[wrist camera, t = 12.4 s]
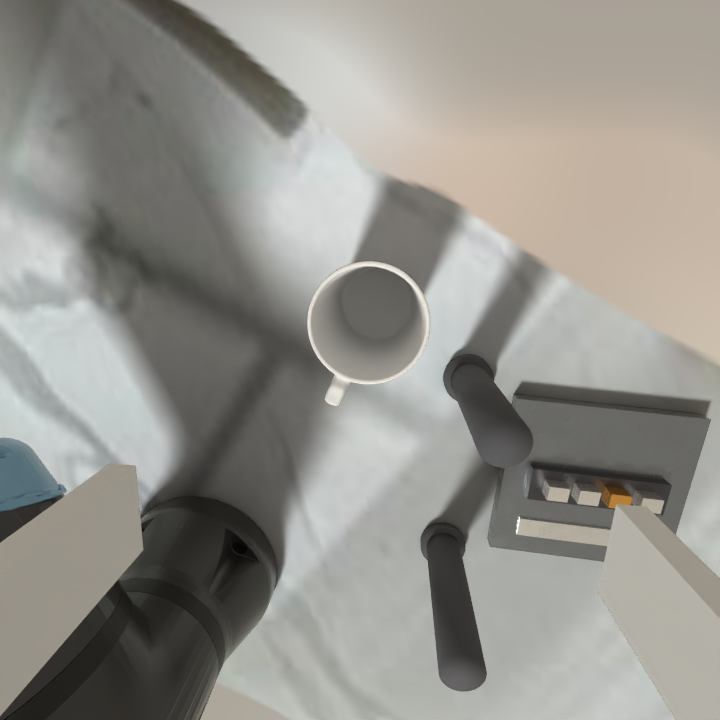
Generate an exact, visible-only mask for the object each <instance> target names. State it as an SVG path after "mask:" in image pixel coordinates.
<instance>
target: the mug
mask: <svg viewBox="0 0 720 720" xmlns="http://www.w3.org/2000/svg"><path fill="white" fill-rule="evenodd" d="M307 327H308V335H309V339H310V342H311V345H312V347H313V350H314V352H315V353H316V355H317V357H318V358H319V359H320V361H321V362H322V363H323V364H324V365H325V366H326V367H327V368H328V369H329V370H330V371H331V372H332V373H334V377H333V380H332V382H331V384H330V387H329V389H328V391H327V393H326V395H325V401H326V402H327V403H329V404H331V405H334V406H338V405H339V404H340V403H341V401H342V399H343V396H344V394H345V392H346V390H347V388H348V386H349V384H350V383H351V382H354V383H359V384H378V383H383V382H387V381H390V380H392V379H395V378H397V377H399V376H400V375H402V374H403V373H405V372H406V371H407V370H409V369H410V368H411V367H412V366H413V365H414V364H415V363H416V361H417V360H418V359H419V357H420V356H421V354H422V353H423V351H424V349H425V347H426V344H427V341H428V337H429V333H430V313H429V308H428V304H427V301H426V299H425V297H424V294H423V293H422V291H421V289H420V288H419V286H418V285H417V284H416V282H415V281H414V280H413V279H412V278H411V277H410V276H409V275H407V274H406V273H405V272H403V271H402V270H400V269H399V268H397V267H395V266H392V265H390V264H387V263H383V262H377V261H361V262H356V263H352V264H349V265H346V266H344V267H341V268H340V269H338V270H336V271H335V272H333V273H332V274H330V275H329V276H328V277H327V278H326V279H325V280H324V281H323V282H322V283H321V285H320V286H319V287H318V289H317V290H316V292H315V294H314V296H313V298H312V300H311V303H310V306H309V311H308V318H307Z"/></svg>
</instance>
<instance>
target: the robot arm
mask: <svg viewBox="0 0 720 720" xmlns="http://www.w3.org/2000/svg"><path fill="white" fill-rule="evenodd" d="M66 491H67V490H66V489H65V487H64V486H63V485H61V484H58V483H57V482H56V481H55V479H54V478H53V476H52V475H51V474H50V472H49V471H48V470H47V468H46V467H45V466H44V464H43V463H42V461H41V460H40V459H39V457H38V456H37V455H36V453H35V452H34V451H33V449H32V448H31V447H30V446H28V445H27V444H25V443H23V442H21V441H19V440H16V439H11V438H0V720H200V718H201V716H202V714H203V711H204V709H205V706H206V704H207V701H208V699H209V697H210V694H211V692H212V689H213V687H214V684H215V682H216V679H217V677H218V675H219V672H220V670H221V668H222V666H223V663H224V662H225V660H226V659H227V658H228V657H229V656H230V655H231V654H232V652H233V651H234V650H235V649H236V648H237V647H238V645H239V644H240V643H241V642H242V641H243V640H244V639H245V637H246V636H247V635H248V634H249V633H250V632H251V630H252V629H253V628H254V627H255V626H256V625H257V624H258V622H259V621H260V620H261V618H262V617H263V615H264V613H265V611H266V609H267V607H268V605H269V602H270V599H271V597H272V594H273V591H274V588H275V585H276V579H277V566H276V560H275V556H274V553H273V550H272V548H271V545H270V543H269V541H268V540H267V538H266V536H265V535H264V534H263V532H262V531H261V530H260V528H259V527H258V526H257V525H256V524H255V523H254V522H253V521H252V520H251V519H250V518H248V517H247V516H246V515H244V514H243V513H242V512H240V511H238V510H237V509H235V508H233V507H231V506H229V505H227V504H225V503H222V502H220V501H216V500H213V499H208V498H202V497H181V498H176V499H172V500H168V501H166V502H163V503H161V504H159V505H157V506H155V507H154V508H152V509H151V510H150V511H149V512H147V513H146V514H145V515H144V516H143V517H142V518H141V519H140V508H139V497H138V487H137V476H136V466H131V465H119V464H109V465H107V466H106V467H105V468H103V469H102V470H100V471H99V472H98V473H96V474H95V475H93V476H92V477H91V478H89V479H88V480H87V481H85V482H84V483H82V484H81V485H80V486H78V487H77V488H75V489H74V490H73V491H71V492H70V493H68V494H67V495H66V496H64V494H63V493H65V492H66ZM598 594H599V595H600V597H601V599H602V600H603V602H604V604H605V605H606V607H607V609H608V610H609V612H610V613H611V615H612V617H613V618H614V620H615V622H616V623H617V625H618V627H619V628H620V630H621V632H622V633H623V635H624V636H625V638H626V640H627V641H628V643H629V645H630V646H631V648H632V650H633V651H634V653H635V655H636V656H637V658H638V659H639V661H640V663H641V664H642V666H643V668H644V669H645V671H646V673H647V674H648V676H649V677H650V679H651V681H652V682H653V684H654V686H655V687H656V689H657V691H658V692H659V694H660V696H661V697H662V699H663V700H664V702H665V704H666V705H667V707H668V709H669V710H670V712H671V714H672V715H673V717H674V719H675V720H720V578H719V577H718V576H717V575H716V574H715V573H714V572H713V571H712V570H711V569H710V568H709V567H708V566H707V565H706V564H704V563H703V562H702V561H701V560H700V559H699V558H698V557H697V556H696V555H695V554H694V553H693V552H692V551H691V550H690V549H689V548H688V547H687V546H686V545H685V544H684V543H683V542H682V541H681V540H680V539H679V538H678V537H677V536H676V535H675V534H674V533H673V532H672V531H671V530H670V529H669V528H668V527H667V526H666V525H665V524H664V523H663V522H662V521H661V520H660V519H659V518H658V517H657V516H656V515H655V514H654V513H653V512H652V511H651V510H650V509H649V508H648V507H645V506H633V505H620V504H616V507H615V512H614V517H613V522H612V527H611V531H610V536H609V541H608V546H607V550H606V555H605V560H604V565H603V569H602V574H601V579H600V584H599V588H598Z"/></svg>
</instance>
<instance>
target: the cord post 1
mask: <svg viewBox="0 0 720 720" xmlns="http://www.w3.org/2000/svg"><path fill="white" fill-rule="evenodd" d="M421 551H422V554H423V556H424V557H425V558H426V559H427V560H428V568H429V578H430V588H431V598H432V608H433V619H434V629H435V639H436V649H437V659H438V670H439V676H440V679H441V680H442V682H443V683H444V684H445V685H446V686H447V687H449V688H451V689H453V690H457V691H471V690H474V689H476V688H478V687H480V686H481V685H482V684H483V683H484V681H485V679H486V675H487V672H486V667H485V662H484V658H483V653H482V648H481V644H480V639H479V634H478V629H477V625H476V620H475V615H474V611H473V606H472V601H471V597H470V592H469V587H468V583H467V578H466V573H465V569H464V564H463V559H462V557H463V555H464V553H465V542H464V538H463V535H462V533H461V532H460V530H459V529H458V528H456V527H455V526H453V525H451V524H447V523H436V524H433V525H431V526H429V527H428V528H426V529H425V531H424V532H423V534H422V536H421Z"/></svg>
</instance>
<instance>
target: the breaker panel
mask: <svg viewBox="0 0 720 720" xmlns="http://www.w3.org/2000/svg"><path fill="white" fill-rule="evenodd" d="M512 406H513V408H514V409H515V410H516V412H517V413H518V414H519V416H520V417H521V418H522V420H523V421H524V422H525V423H526V425H527V426H528V427H529V429H530V430H531V433H532V435H533V447H532V450H531V453H530V454H529V456H528V457H527V458H526V459H525V460H524V461H523V462H521V463H520V464H518V465H516V466H513V467H508V468H500V472H499V477H498V483H497V488H496V494H495V499H494V504H493V510H492V515H491V521H490V526H489V532H488V537H487V539H488V542H489V545H490V547H496V548H503V549H511V550H519V551H526V552H534V553H542V554H549V555H557V556H565V557H572V558H580V559H588V560H595V561H603V562H604V560H605V555H606V550H607V546H608V541H609V536H610V531H611V527H612V522H613V517H614V512H615V507H616V504H620V505H633V506H645V507H648V508H649V509H650V510H651V511H652V512H653V513H654V514H655V515H656V516H657V517H658V518H659V519H660V520H661V521H662V522H663V523H664V524H665V525H666V526H667V527H668V528H669V529H670V530H671V531H672V532H673V533H674V534H676V531H677V528H678V524H679V521H680V518H681V515H682V512H683V508H684V505H685V502H686V499H687V495H688V492H689V489H690V486H691V482H692V479H693V476H694V473H695V470H696V466H697V463H698V460H699V457H700V453H701V450H702V447H703V444H704V440H705V437H706V434H707V431H708V427H709V424H710V421H711V419H709V418H707V417H705V416H703V415H701V414H694V413H685V412H675V411H666V410H657V409H647V408H638V407H629V406H619V405H610V404H601V403H591V402H582V401H573V400H563V399H554V398H545V397H535V396H526V395H517V394H514V396H513V401H512Z"/></svg>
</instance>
